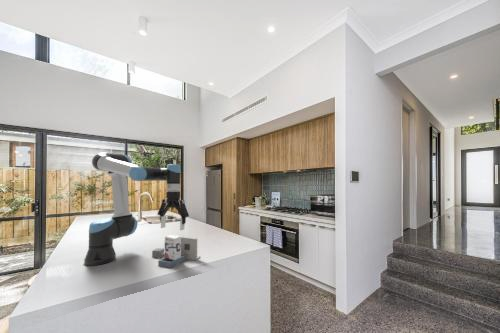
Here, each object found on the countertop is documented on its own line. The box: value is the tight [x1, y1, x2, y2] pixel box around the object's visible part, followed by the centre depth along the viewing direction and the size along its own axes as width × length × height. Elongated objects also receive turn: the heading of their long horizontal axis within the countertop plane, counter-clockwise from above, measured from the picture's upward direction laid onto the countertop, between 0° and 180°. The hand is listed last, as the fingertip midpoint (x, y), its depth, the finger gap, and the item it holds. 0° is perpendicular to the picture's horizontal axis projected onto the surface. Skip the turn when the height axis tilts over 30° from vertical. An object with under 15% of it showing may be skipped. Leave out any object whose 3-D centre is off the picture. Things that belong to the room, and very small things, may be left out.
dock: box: [157, 254, 187, 269], centre depth 123 cm, size 9×13×3 cm
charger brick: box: [151, 247, 165, 259], centre depth 134 cm, size 6×5×4 cm
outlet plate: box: [181, 236, 201, 261], centre depth 133 cm, size 20×5×12 cm, turn 69°
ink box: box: [163, 234, 182, 260], centre depth 124 cm, size 8×5×12 cm, turn 60°
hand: (172, 228), depth 124 cm, fingers open, 13 cm apart
